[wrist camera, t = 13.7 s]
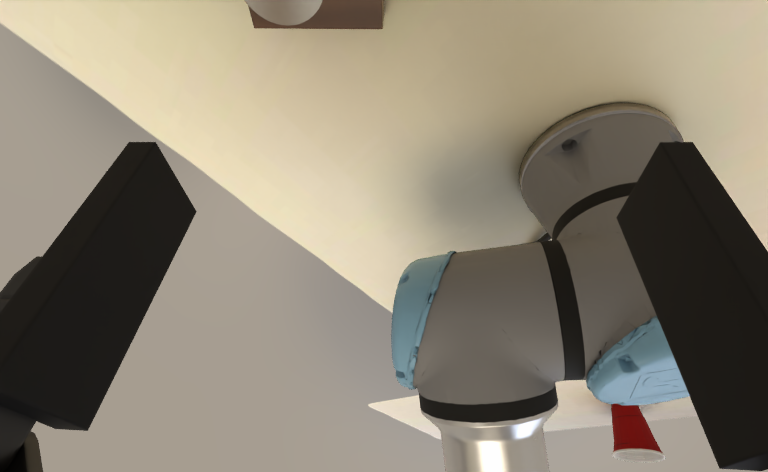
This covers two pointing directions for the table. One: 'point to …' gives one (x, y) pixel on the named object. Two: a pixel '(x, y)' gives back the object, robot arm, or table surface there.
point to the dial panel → (336, 16)
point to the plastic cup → (633, 436)
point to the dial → (285, 10)
